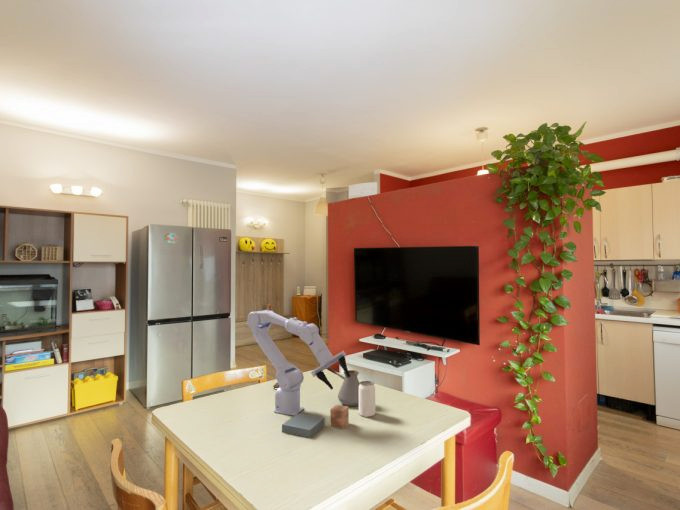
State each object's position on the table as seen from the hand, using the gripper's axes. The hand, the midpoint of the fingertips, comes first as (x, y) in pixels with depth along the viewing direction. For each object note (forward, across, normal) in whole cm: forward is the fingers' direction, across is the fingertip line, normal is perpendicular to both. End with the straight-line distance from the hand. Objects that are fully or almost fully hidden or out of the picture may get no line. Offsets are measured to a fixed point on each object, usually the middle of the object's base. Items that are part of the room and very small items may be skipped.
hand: (340, 382), depth 135 cm
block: (+12, -8, +5) cm, 15 cm away
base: (+5, -19, +3) cm, 20 cm away
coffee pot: (+4, 0, +26) cm, 27 cm away
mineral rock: (-17, -18, +47) cm, 53 cm away
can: (+15, +4, +12) cm, 19 cm away
